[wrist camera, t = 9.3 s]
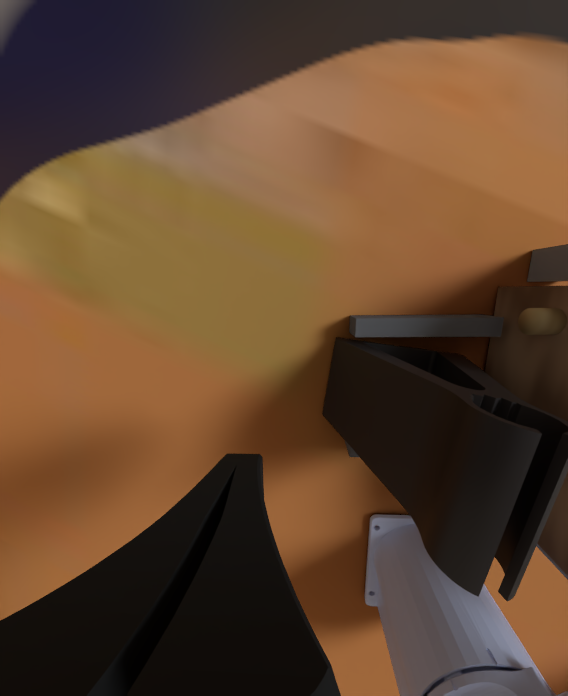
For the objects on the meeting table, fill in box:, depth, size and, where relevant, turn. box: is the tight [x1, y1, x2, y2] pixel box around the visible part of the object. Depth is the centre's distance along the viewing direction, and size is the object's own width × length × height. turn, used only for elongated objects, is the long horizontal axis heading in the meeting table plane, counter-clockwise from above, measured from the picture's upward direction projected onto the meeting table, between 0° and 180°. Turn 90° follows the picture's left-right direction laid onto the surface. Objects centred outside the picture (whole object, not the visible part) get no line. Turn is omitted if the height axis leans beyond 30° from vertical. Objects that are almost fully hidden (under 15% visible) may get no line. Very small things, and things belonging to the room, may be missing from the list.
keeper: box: [345, 314, 504, 457], centre depth 18 cm, size 10×9×2 cm
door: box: [485, 286, 568, 576], centre depth 15 cm, size 14×3×8 cm, turn 1°
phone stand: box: [322, 337, 568, 601], centre depth 14 cm, size 9×6×12 cm, turn 82°
